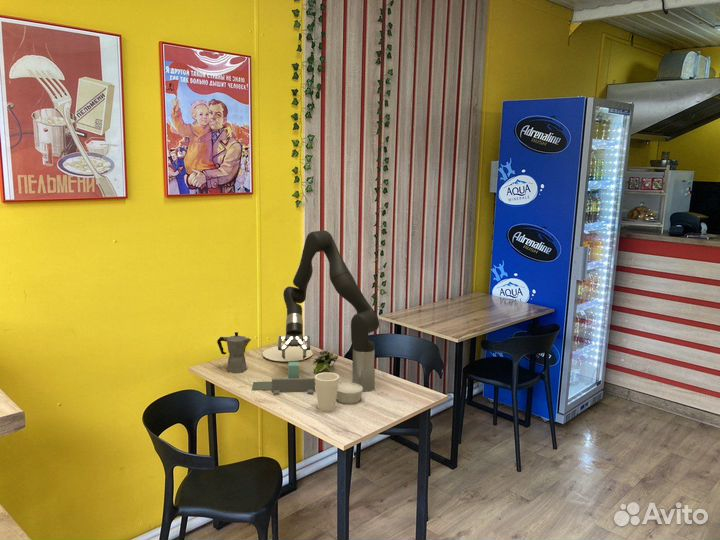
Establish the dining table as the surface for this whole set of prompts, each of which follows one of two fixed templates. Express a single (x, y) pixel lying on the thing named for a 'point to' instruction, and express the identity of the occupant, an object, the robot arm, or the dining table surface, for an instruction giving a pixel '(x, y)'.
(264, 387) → the mat
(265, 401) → the dining table surface
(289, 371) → the block
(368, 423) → the dining table surface
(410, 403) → the dining table surface
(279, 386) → the screen
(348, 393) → the ramekin
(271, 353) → the plate
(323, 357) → the passion flower
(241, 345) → the coffeepot
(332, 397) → the foam cup
